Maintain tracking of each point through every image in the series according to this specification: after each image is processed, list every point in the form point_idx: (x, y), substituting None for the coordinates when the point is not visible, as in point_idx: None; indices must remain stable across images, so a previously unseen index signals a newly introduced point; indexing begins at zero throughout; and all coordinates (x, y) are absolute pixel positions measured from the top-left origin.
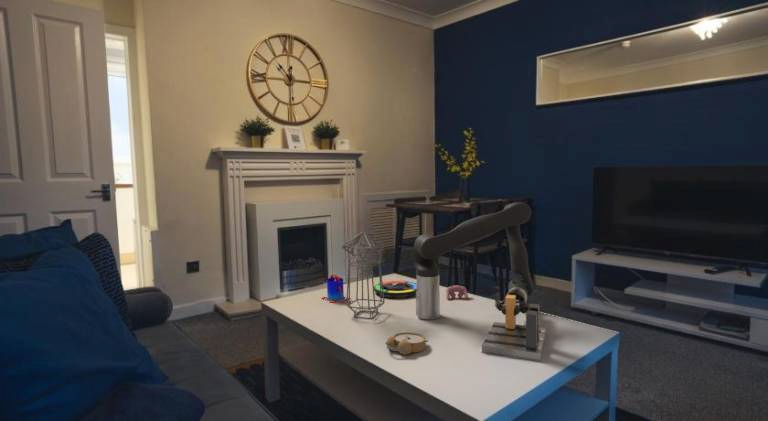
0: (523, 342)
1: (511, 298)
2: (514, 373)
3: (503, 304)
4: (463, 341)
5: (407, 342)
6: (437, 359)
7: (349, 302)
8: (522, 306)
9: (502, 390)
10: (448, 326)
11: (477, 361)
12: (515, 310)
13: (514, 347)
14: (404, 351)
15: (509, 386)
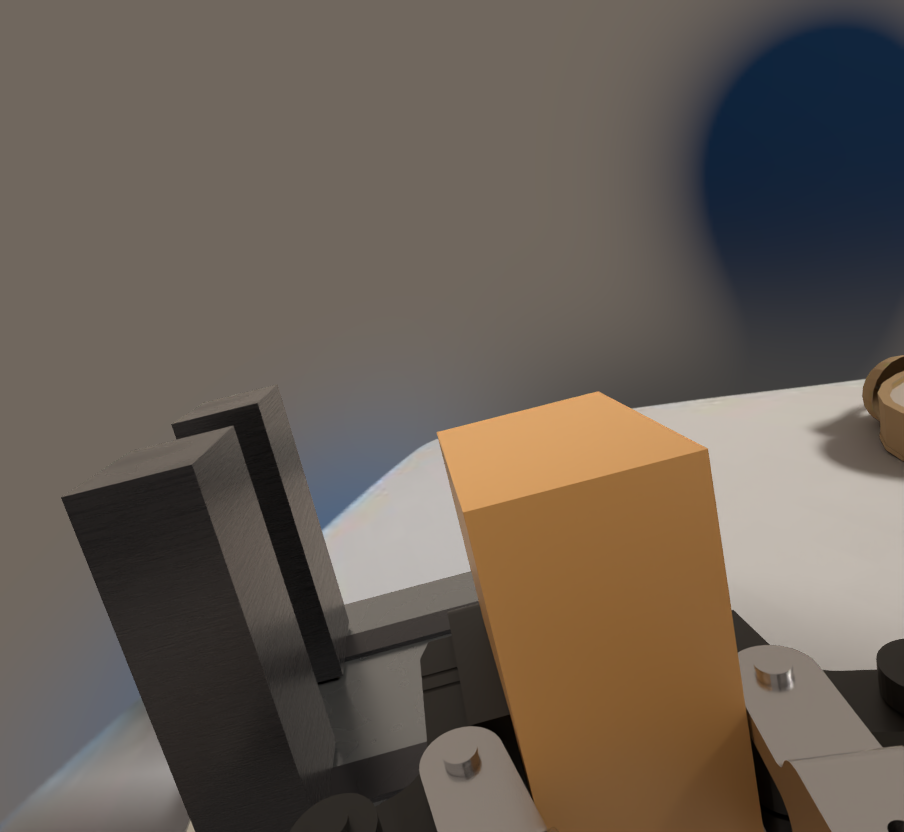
0: (377, 686)
1: (487, 421)
2: (399, 546)
3: (820, 672)
4: (885, 608)
5: (880, 364)
6: (746, 462)
7: None
8: (350, 798)
9: (416, 486)
10: None
11: None
12: (453, 610)
13: (425, 602)
14: (875, 395)
15: (400, 502)
